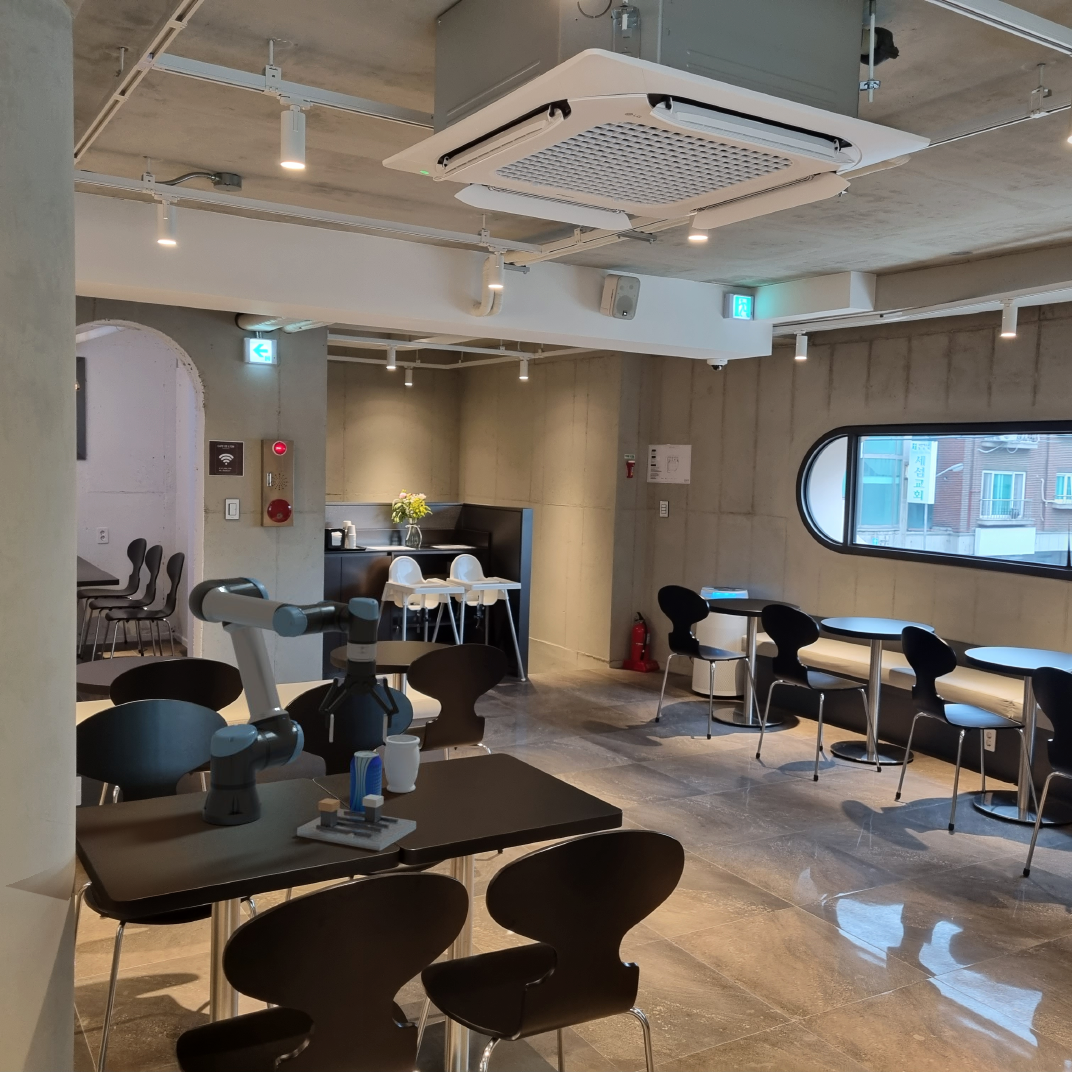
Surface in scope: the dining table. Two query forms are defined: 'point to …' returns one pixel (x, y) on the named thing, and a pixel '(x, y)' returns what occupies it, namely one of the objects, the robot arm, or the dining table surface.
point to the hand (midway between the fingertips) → (357, 740)
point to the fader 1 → (329, 811)
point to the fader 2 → (373, 807)
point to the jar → (401, 762)
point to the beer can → (364, 778)
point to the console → (358, 830)
